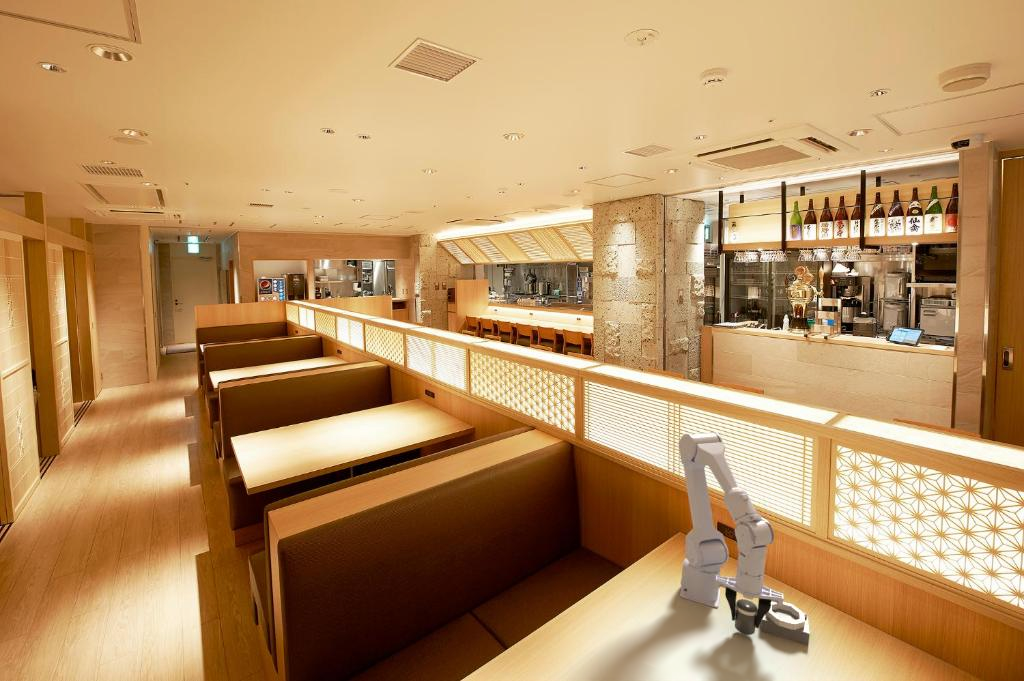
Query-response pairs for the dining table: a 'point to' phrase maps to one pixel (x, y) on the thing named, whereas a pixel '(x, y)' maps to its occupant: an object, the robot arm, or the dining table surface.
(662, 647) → the dining table surface
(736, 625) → the lens
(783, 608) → the octagonal ring base
